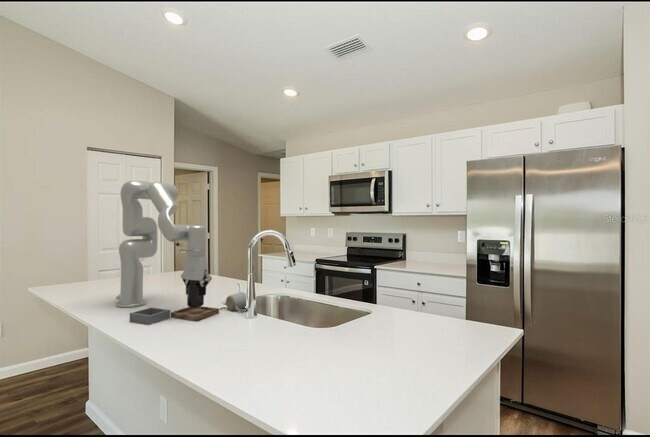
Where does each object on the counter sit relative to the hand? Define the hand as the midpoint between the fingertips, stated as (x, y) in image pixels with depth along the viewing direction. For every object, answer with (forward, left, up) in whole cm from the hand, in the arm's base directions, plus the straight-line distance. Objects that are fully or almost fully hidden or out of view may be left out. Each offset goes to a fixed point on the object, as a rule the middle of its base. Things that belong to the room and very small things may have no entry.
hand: (195, 294), depth 155 cm
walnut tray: (0, 0, -9) cm, 9 cm away
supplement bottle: (0, 0, -5) cm, 5 cm away
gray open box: (-12, -13, -9) cm, 20 cm away
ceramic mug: (+11, +16, -10) cm, 22 cm away
